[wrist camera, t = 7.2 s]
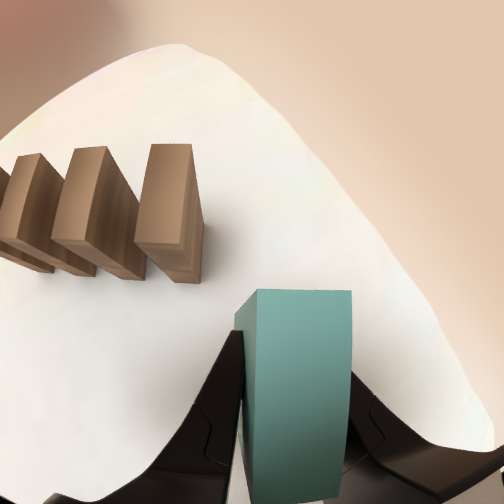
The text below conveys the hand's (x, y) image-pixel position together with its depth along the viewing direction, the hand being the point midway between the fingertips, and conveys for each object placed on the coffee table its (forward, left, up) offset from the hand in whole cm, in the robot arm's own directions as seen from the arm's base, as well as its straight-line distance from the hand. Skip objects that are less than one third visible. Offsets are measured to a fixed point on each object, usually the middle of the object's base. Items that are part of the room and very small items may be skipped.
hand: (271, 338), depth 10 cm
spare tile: (-1, +1, -7) cm, 7 cm away
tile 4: (+8, 0, -13) cm, 15 cm away
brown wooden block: (+10, +4, -13) cm, 17 cm away
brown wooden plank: (+13, +8, -13) cm, 20 cm away
